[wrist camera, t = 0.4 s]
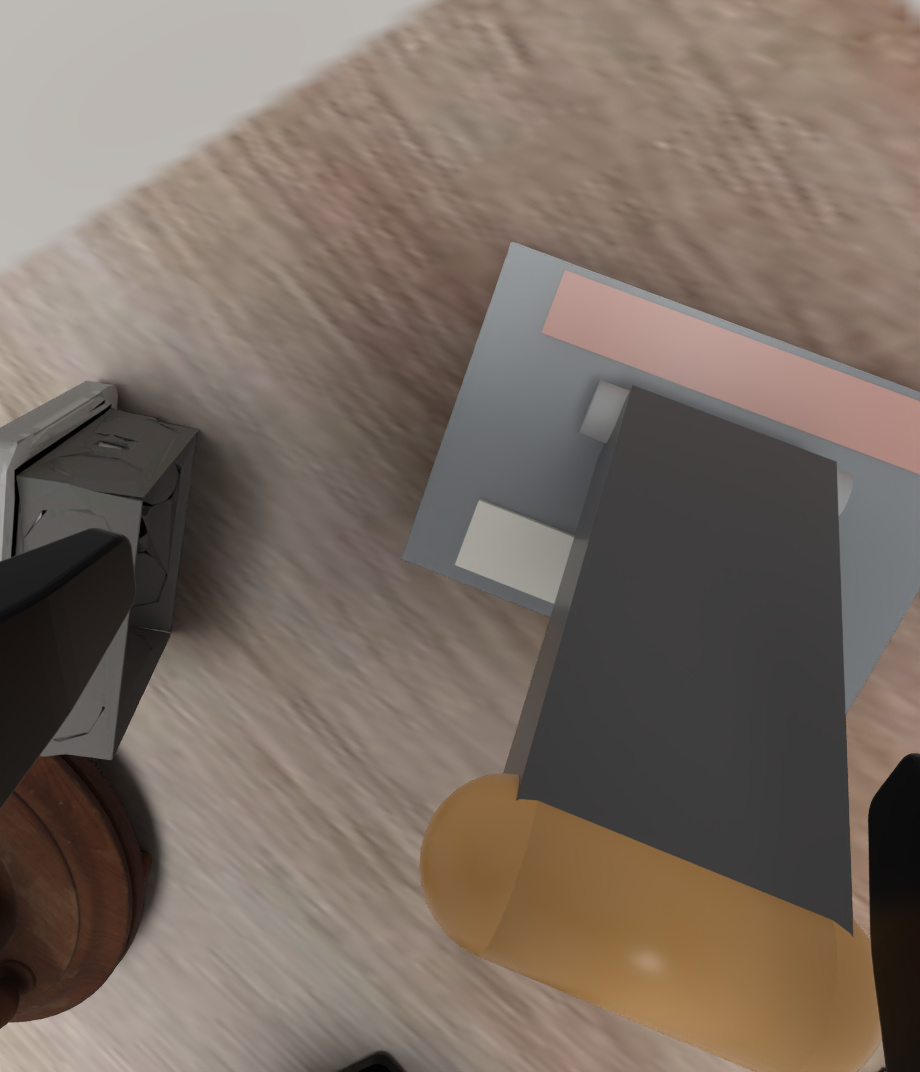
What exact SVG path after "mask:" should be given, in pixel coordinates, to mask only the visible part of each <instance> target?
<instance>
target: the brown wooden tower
mask: <svg viewBox="0 0 920 1072" xmlns="http://www.w3.org/2000/svg"><path fill="white" fill-rule="evenodd" d="M151 864H152V857H151V856H150V855H149V854H148V853H145V852H142V853H140V850H139V846H138V843H137V839H136V836H135V833H134V831H133V828H132V826H131V823H130V821H129V819H128V817H127V815H126V813H125V811H124V809H123V807H122V805H121V803H120V801H119V799H118V798H117V796H116V794H115V793H114V791H113V790H112V788H111V786H110V785H109V784H108V782H107V781H106V779H105V778H104V777H103V775H102V774H101V773H100V771H99V770H98V769H97V768H96V767H95V765H94V764H93V763H92V762H91V761H90V760H89V758H88V757H84V756H76V755H69V754H62V755H53V756H45V757H42V756H39V757H38V759H37V760H36V761H35V763H34V764H33V765H32V767H31V768H30V770H29V771H28V772H27V774H26V775H25V776H24V778H23V779H22V780H21V782H20V783H19V785H18V786H17V787H16V789H15V790H14V791H13V793H12V794H11V796H10V797H9V798H8V800H7V801H6V802H5V804H4V805H3V806H2V808H1V809H0V1029H1V1028H2V1027H3V1026H5V1025H6V1024H7V1023H8V1022H26V1021H32V1020H38V1019H43V1018H47V1017H50V1016H54V1015H57V1014H59V1013H62V1012H64V1011H67V1010H69V1009H71V1008H73V1007H75V1006H76V1005H78V1004H80V1003H82V1002H83V1001H84V1000H86V999H87V998H88V997H90V996H91V995H92V994H94V993H95V992H96V991H97V990H98V989H99V988H100V987H101V986H102V985H103V984H104V982H105V981H106V980H107V979H108V977H109V976H110V975H111V974H112V972H113V971H114V969H115V967H116V966H117V965H118V964H119V962H120V961H121V960H122V958H123V957H124V956H125V954H126V953H127V951H128V949H129V948H130V946H131V944H132V942H133V940H134V938H135V935H136V933H137V931H138V928H139V924H140V921H141V917H142V912H143V905H144V892H145V882H146V880H147V878H148V876H149V873H150V870H151Z"/></svg>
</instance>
